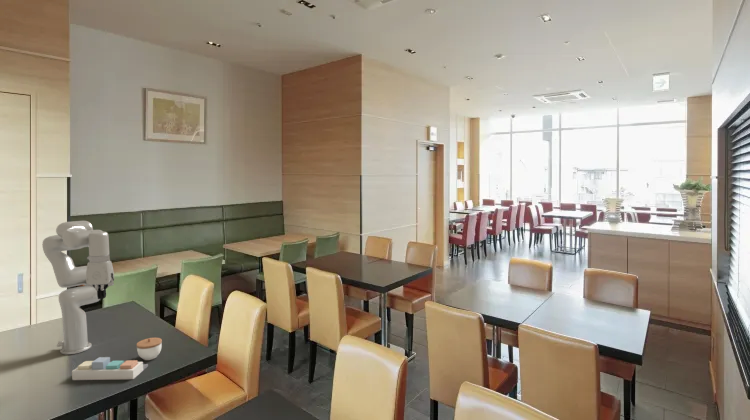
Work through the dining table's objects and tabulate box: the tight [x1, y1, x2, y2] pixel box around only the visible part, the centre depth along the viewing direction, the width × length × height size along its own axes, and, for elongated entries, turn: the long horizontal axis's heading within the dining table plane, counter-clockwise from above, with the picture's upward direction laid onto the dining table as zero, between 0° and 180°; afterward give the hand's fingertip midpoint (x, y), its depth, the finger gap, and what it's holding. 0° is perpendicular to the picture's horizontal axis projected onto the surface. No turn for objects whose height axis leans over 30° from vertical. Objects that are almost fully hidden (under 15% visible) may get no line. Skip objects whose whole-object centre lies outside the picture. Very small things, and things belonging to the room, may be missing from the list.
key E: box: [77, 360, 94, 370], centre depth 173 cm, size 5×5×5 cm
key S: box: [92, 356, 111, 370], centre depth 173 cm, size 5×5×5 cm
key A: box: [120, 359, 139, 369], centre depth 173 cm, size 5×5×5 cm
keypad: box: [71, 361, 149, 381], centre depth 175 cm, size 26×12×4 cm, turn 92°
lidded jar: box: [135, 337, 163, 361], centre depth 190 cm, size 11×11×9 cm
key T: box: [106, 360, 125, 369], centre depth 173 cm, size 5×5×5 cm
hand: (101, 298), depth 179 cm, fingers closed
